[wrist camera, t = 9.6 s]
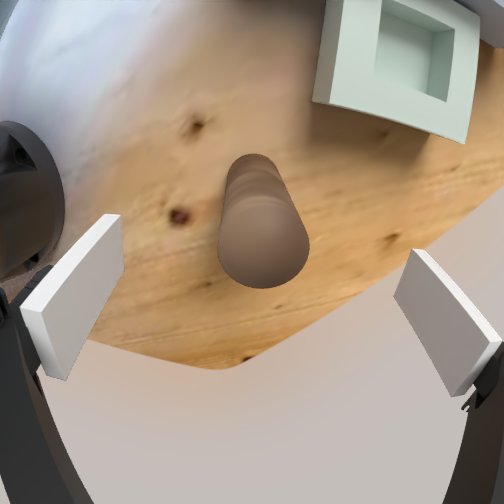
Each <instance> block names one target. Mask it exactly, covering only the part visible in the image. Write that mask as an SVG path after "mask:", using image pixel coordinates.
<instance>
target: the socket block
mask: <svg viewBox="0 0 504 504" xmlns="http://www.w3.org/2000/svg"><path fill="white" fill-rule="evenodd" d="M479 38H480V16H478V15H477V14H475V13H473V12H472V11H470V10H468V9H467V8H465V7H463V6H462V5H460V4H458V3H457V2H455V1H453V0H326V7H325V14H324V22H323V29H322V36H321V43H320V50H319V57H318V63H317V70H316V76H315V83H314V89H313V95H312V102H317V103H322V104H327V105H331V106H336V107H340V108H344V109H349V110H353V111H357V112H361V113H365V114H368V115H372V116H376V117H380V118H383V119H387V120H390V121H393V122H397V123H400V124H403V125H406V126H410V127H413V128H416V129H419V130H422V131H425V132H428V133H430V134H434V135H437V136H440V137H443V138H446V139H449V140H452V141H455V142H458V143H461V144H464V145H465V140H466V136H467V131H468V126H469V121H470V115H471V109H472V103H473V97H474V90H475V82H476V74H477V64H478V53H479Z"/></svg>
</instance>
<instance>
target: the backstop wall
mask: <svg viewBox="0 0 504 504" xmlns="http://www.w3.org/2000/svg"><path fill="white" fill-rule="evenodd" d="M453 1H455V2H457V3H458V4H460V5H462V6H463V7H465V8H467V9H468V10H470V11H472V12H473V13H475V14H477V15H478V16H480V39H481V40H483V41H484V42H486V43H488V44H489V45H491V46H492V47H494V48H504V0H453Z"/></svg>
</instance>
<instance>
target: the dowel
mask: <svg viewBox="0 0 504 504" xmlns="http://www.w3.org/2000/svg"><path fill="white" fill-rule="evenodd" d="M309 247H310V244H309V238H308V234H307V232H306V230H305V227H304V225H303V223H302V221H301V219H300V216H299V214H298V212H297V210H296V208H295V206H294V203H293V201H292V199H291V197H290V195H289V193H288V191H287V189H286V186H285V184H284V182H283V180H282V178H281V176H280V174H279V172H278V170H277V168H276V166H275V164H274V163H273V162H272V161H271V160H270V159H269V158H267V157H265V156H263V155H260V154H247V155H244V156H242V157H240V158H238V159H237V160H236V161H235V162H234V163H233V164H232V166H231V167H230V169H229V172H228V178H227V184H226V191H225V198H224V204H223V211H222V218H221V225H220V232H219V240H218V257H219V261H220V263H221V265H222V267H223V269H224V270H225V272H226V273H227V274H228V275H229V276H230V277H231V278H232V279H234V280H235V281H236V282H238V283H240V284H242V285H245V286H248V287H252V288H260V289H264V288H272V287H276V286H280V285H282V284H284V283H286V282H288V281H290V280H291V279H293V278H294V277H295V276H296V275H297V274H298V273H299V272H300V271H301V270H302V268H303V267H304V265H305V263H306V261H307V258H308V255H309Z"/></svg>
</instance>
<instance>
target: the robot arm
mask: <svg viewBox="0 0 504 504" xmlns="http://www.w3.org/2000/svg"><path fill="white" fill-rule="evenodd" d="M17 2H18V0H0V39H1V37H2V34H3V32H4V30H5V27H6V25H7V23H8V21H9V19H10V16H11V14H12V12H13V10H14V8H15V6H16V4H17ZM63 222H64V194H63V188H62V183H61V179H60V175H59V172H58V169H57V167H56V164H55V162H54V160H53V158H52V156H51V154H50V152H49V151H48V149H47V147H46V146H45V145H44V143H43V142H42V141H41V140H40V138H39V137H38V136H37V135H36V134H35V133H33V132H32V131H31V130H30V129H28V128H27V127H25V126H23V125H21V124H19V123H15V122H10V121H2V122H0V283H2V282H4V281H7V280H9V279H12V278H14V277H16V276H19V275H21V274H24V273H26V272H28V271H30V270H32V269H34V268H35V267H36V266H38V265H39V264H40V263H41V262H42V261H43V260H44V259H45V258H46V257H47V255H48V254H49V253H50V252H51V251H52V250H53V249H54V247H55V246H56V244H57V242H58V240H59V237H60V234H61V231H62V227H63ZM123 272H124V264H123V250H122V232H121V215H114V214H104V215H103V216H102V217H101V218H100V219H99V220H98V221H97V222H96V223H95V224H94V225H93V226H92V227H91V228H90V229H89V230H88V231H87V232H86V233H85V234H84V235H83V236H82V237H81V238H80V239H79V240H78V241H77V242H76V243H75V244H74V245H73V246H72V247H71V248H70V250H69V251H68V252H67V253H66V254H65V255H64V256H63V257H62V258H61V259H60V260H59V261H58V263H57V264H56V265H55V266H51V265H48V266H47V267H45V268H43V269H42V270H40V271H38V272H37V273H36V275H35V276H34V277H33V278H32V279H31V281H30V282H28V283H27V285H26V286H25V288H23V289H22V290H21V291H20V293H19V294H18V295H17V296H16V297H15V298H14V300H13V301H12V302H11V303H10V304H8V301H7V298H6V294H5V292H4V290H3V289H2V288H0V475H1V478H2V481H3V484H4V487H5V490H6V493H7V495H8V498H9V501H10V504H94V503H93V501H92V499H91V498H90V496H89V494H88V492H87V491H86V489H85V487H84V485H83V483H82V481H81V480H80V478H79V476H78V474H77V472H76V470H75V468H74V466H73V464H72V462H71V459H70V458H69V455H68V453H67V451H66V449H65V446H64V444H63V442H62V439H61V437H60V435H59V432H58V430H57V427H56V425H55V422H54V420H53V417H52V415H51V412H50V409H49V406H48V404H47V401H46V398H45V395H44V392H43V389H42V386H41V383H40V380H39V377H38V375H37V373H36V371H37V369H38V367H39V366H40V364H41V365H42V367H43V369H44V371H45V373H46V375H47V376H50V377H54V378H57V379H61V380H64V381H66V380H67V378H68V375H69V374H70V371H71V369H72V367H73V365H74V363H75V361H76V359H77V357H78V355H79V353H80V350H81V349H82V347H83V345H84V343H85V341H86V339H87V337H88V335H89V333H90V331H91V329H92V328H93V326H94V324H95V322H96V320H97V318H98V316H99V314H100V313H101V311H102V309H103V307H104V305H105V304H106V302H107V300H108V298H109V296H110V295H111V293H112V291H113V289H114V288H115V286H116V284H117V282H118V281H119V279H120V277H121V276H122V274H123ZM394 298H395V300H396V301H397V303H398V305H399V306H400V308H401V309H402V311H403V313H404V314H405V316H406V318H407V319H408V321H409V323H410V324H411V326H412V327H413V329H414V331H415V333H416V334H417V336H418V338H419V339H420V341H421V343H422V344H423V346H424V348H425V350H426V352H427V353H428V355H429V357H430V359H431V360H432V362H433V364H434V366H435V368H436V370H437V371H438V373H439V375H440V377H441V379H442V380H443V383H444V384H445V386H446V388H447V390H448V392H449V394H450V396H451V397H455V396H460V395H464V394H465V393H466V392H467V390H468V389H469V388H470V387H471V386H472V384H474V386H475V387H476V390H475V391H474V393H473V394H472V395H471V396H470V398H469V399H468V400H467V401H466V402H465V404H464V405H463V406H462V408H461V409H462V410H464V408H465V407H466V406H468V405H469V406H470V407H469V408H468V410H467V411H466V412H468V417H467V422H466V426H465V431H464V435H463V439H462V443H461V447H460V451H459V454H458V458H457V462H456V465H455V468H454V472H453V475H452V478H451V481H450V484H449V487H448V490H447V493H446V495H445V498H444V501H443V503H442V504H504V342H503V341H502V339H501V338H500V337H499V336H498V334H497V333H496V332H495V330H494V329H493V328H492V326H491V325H490V324H489V323H488V321H487V320H486V319H485V318H484V316H483V315H482V314H481V313H480V312H479V311H478V309H477V308H476V307H475V306H474V304H473V303H472V302H471V301H470V300H469V298H468V297H467V296H466V295H465V294H464V293H463V292H462V290H461V289H460V288H459V287H458V286H457V285H456V284H455V283H454V282H453V280H452V279H451V278H450V277H449V276H448V275H447V274H446V273H445V272H444V270H443V269H442V268H441V267H440V266H439V265H438V264H437V263H436V262H435V261H434V260H433V259H432V258H431V257H430V256H429V255H428V253H427V252H425V250H420V249H413V248H412V250H411V252H410V255H409V258H408V261H407V263H406V266H405V269H404V271H403V274H402V277H401V279H400V282H399V284H398V287H397V289H396V292H395V294H394Z"/></svg>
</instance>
